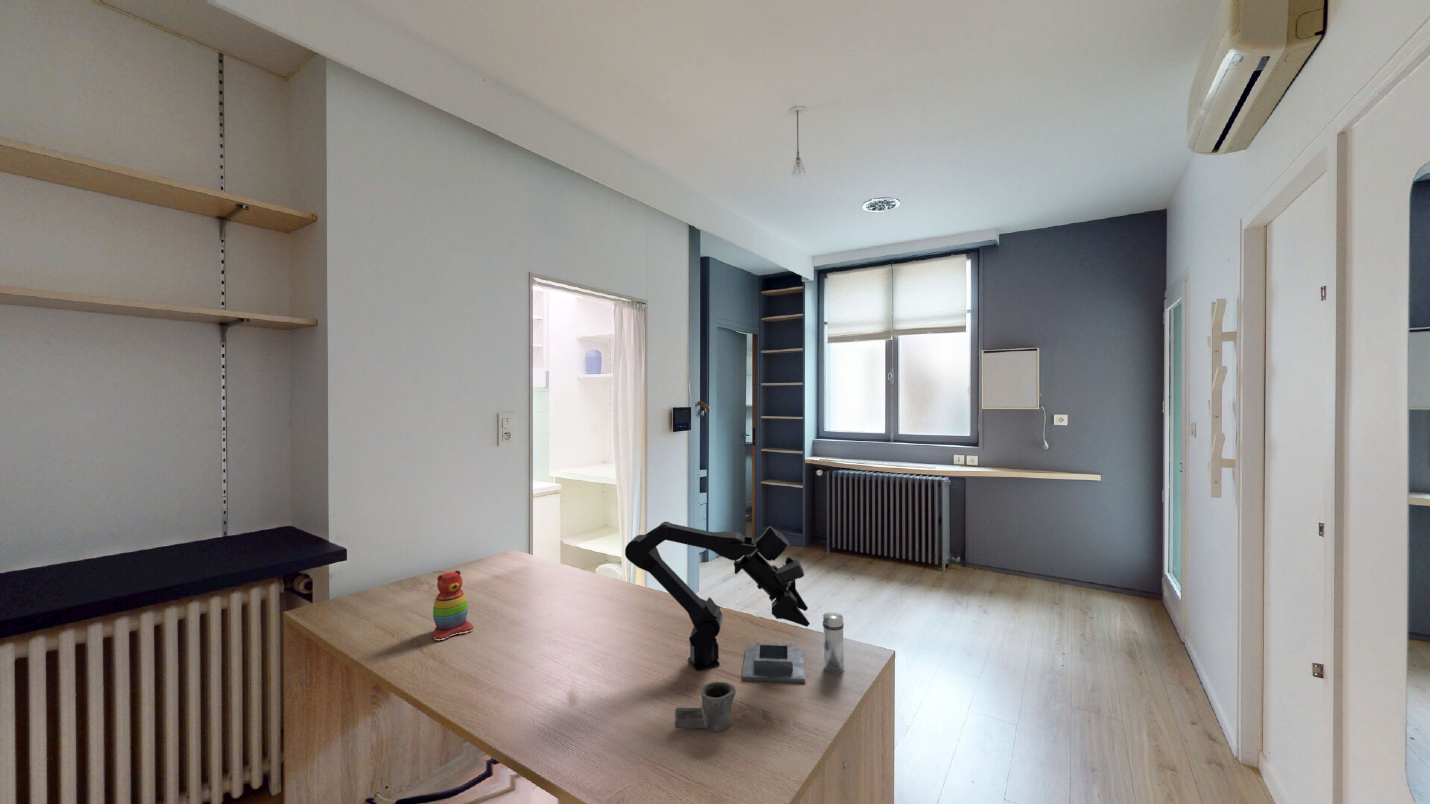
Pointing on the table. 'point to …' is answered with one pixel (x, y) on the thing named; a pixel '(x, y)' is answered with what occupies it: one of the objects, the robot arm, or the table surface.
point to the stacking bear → (450, 606)
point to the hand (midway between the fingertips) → (807, 617)
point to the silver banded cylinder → (833, 642)
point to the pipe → (708, 709)
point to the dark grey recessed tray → (774, 663)
